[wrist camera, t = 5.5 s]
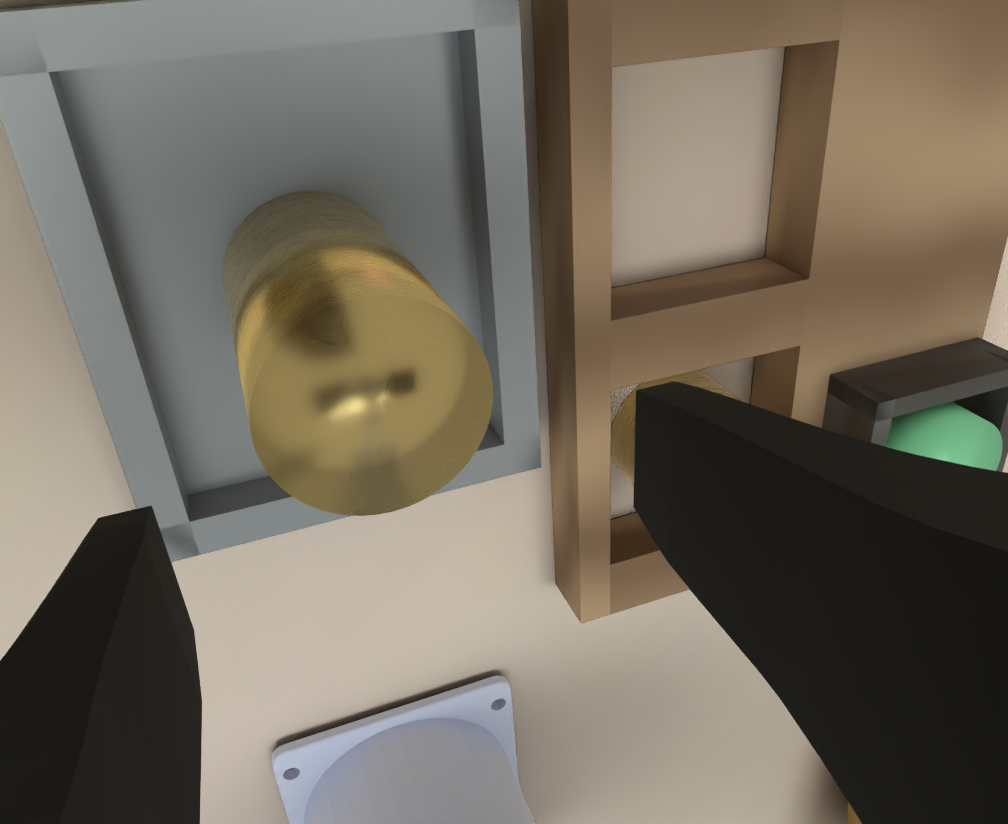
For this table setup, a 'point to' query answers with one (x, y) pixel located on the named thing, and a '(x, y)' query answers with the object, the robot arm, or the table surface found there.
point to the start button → (948, 436)
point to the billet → (349, 359)
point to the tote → (247, 185)
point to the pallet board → (776, 241)
